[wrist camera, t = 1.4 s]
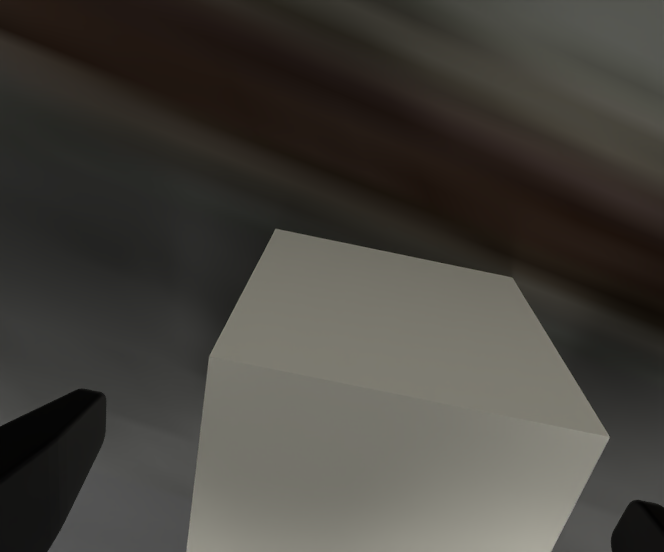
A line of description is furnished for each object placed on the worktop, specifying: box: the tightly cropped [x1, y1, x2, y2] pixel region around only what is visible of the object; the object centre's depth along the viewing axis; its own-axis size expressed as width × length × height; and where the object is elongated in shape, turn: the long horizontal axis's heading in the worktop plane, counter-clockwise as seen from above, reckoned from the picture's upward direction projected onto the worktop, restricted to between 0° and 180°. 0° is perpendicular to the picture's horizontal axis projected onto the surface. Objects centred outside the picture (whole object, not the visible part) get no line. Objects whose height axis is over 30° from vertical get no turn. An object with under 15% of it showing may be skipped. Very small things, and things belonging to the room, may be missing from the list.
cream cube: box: [186, 229, 610, 552], centre depth 10 cm, size 5×5×5 cm
